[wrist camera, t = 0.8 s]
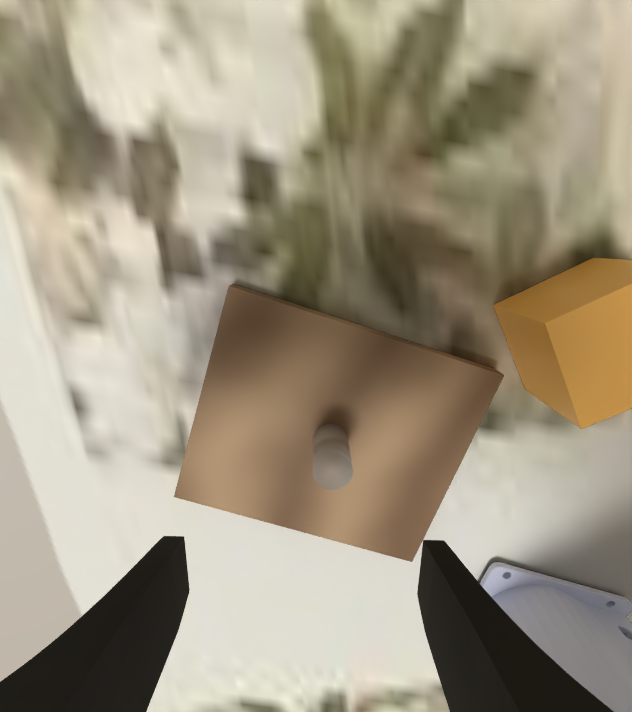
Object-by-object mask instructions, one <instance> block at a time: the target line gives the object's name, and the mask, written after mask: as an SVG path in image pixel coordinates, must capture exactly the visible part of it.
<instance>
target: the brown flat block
mask: <svg viewBox="0 0 632 712" xmlns="http://www.w3.org/2000/svg"><path fill="white" fill-rule="evenodd" d="M503 377H504V375H503V374H501V373H500V372H499V371H497V370H496V369H494V368H491V367H487V366H484V365H481V364H478V363H475V362H472V361H469V360H466V359H463V358H460V357H457V356H454V355H451V354H448V353H444V352H441V351H438V350H435V349H432V348H429V347H426V346H423V345H420V344H417V343H414V342H411V341H408V340H405V339H401V338H398V337H395V336H392V335H389V334H386V333H383V332H380V331H377V330H374V329H371V328H368V327H365V326H362V325H358V324H355V323H352V322H349V321H346V320H343V319H340V318H337V317H334V316H331V315H328V314H325V313H322V312H319V311H315V310H312V309H309V308H306V307H303V306H300V305H297V304H294V303H291V302H288V301H285V300H282V299H279V298H276V297H272V296H269V295H266V294H263V293H260V292H257V291H254V290H251V289H248V288H245V287H242V286H239V285H236V284H232V285H230V286H229V288H228V291H227V295H226V299H225V303H224V307H223V311H222V314H221V318H220V322H219V326H218V330H217V334H216V338H215V341H214V345H213V349H212V353H211V357H210V361H209V364H208V368H207V372H206V376H205V380H204V384H203V387H202V391H201V395H200V399H199V403H198V407H197V410H196V414H195V418H194V422H193V426H192V430H191V434H190V437H189V441H188V445H187V449H186V453H185V457H184V460H183V464H182V468H181V472H180V476H179V480H178V483H177V487H176V491H175V495H174V497H176V498H180V499H184V500H187V501H191V502H195V503H198V504H202V505H206V506H209V507H213V508H217V509H220V510H224V511H228V512H231V513H235V514H239V515H242V516H246V517H250V518H253V519H257V520H261V521H264V522H268V523H272V524H275V525H279V526H283V527H286V528H290V529H294V530H297V531H301V532H305V533H308V534H312V535H316V536H319V537H323V538H327V539H330V540H334V541H337V542H341V543H345V544H348V545H352V546H356V547H359V548H363V549H367V550H370V551H374V552H378V553H381V554H385V555H389V556H392V557H396V558H400V559H403V560H407V561H411V562H412V561H413V559H414V557H415V555H416V553H417V551H418V549H419V547H420V545H421V543H422V541H423V539H424V536H425V534H426V532H427V530H428V528H429V526H430V524H431V522H432V520H433V518H434V516H435V514H436V512H437V510H438V508H439V506H440V504H441V502H442V500H443V498H444V496H445V494H446V492H447V490H448V488H449V486H450V484H451V482H452V480H453V478H454V476H455V474H456V472H457V470H458V468H459V466H460V464H461V462H462V460H463V458H464V455H465V453H466V451H467V449H468V447H469V445H470V443H471V441H472V439H473V437H474V435H475V433H476V431H477V429H478V427H479V425H480V423H481V421H482V419H483V417H484V415H485V413H486V411H487V409H488V407H489V405H490V403H491V401H492V399H493V397H494V395H495V393H496V391H497V389H498V387H499V385H500V383H501V381H502V379H503Z"/></svg>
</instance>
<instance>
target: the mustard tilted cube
mask: <svg viewBox="0 0 632 712" xmlns="http://www.w3.org/2000/svg"><path fill="white" fill-rule="evenodd" d="M493 306H494V308H495V311H496V314H497V316H498V319H499V321H500V324H501V327H502V329H503V332H504V335H505V337H506V340H507V343H508V345H509V348H510V351H511V353H512V356H513V358H514V361H515V364H516V366H517V369H518V372H519V374H520V377H521V380H522V382H523V385H524V388H525V390H527V391H528V392H530V393H531V394H532V395H534V396H535V397H537V398H538V399H539V400H541V401H542V402H544V403H545V404H547V405H548V406H549V407H551V408H552V409H554V410H555V411H556V412H558V413H559V414H561V415H562V416H564V417H565V418H566V419H568V420H569V421H571V422H572V423H573V424H575V425H576V426H578V427H579V428H581V429H583V428H585V427H588V426H590V425H593V424H595V423H598V422H600V421H602V420H605V419H607V418H610V417H612V416H614V415H617V414H619V413H622V412H624V411H626V410H629V409H631V408H632V260H624V259H606V258H592V259H589V260H587V261H585V262H583V263H581V264H579V265H577V266H575V267H573V268H570V269H568V270H566V271H564V272H562V273H560V274H558V275H556V276H553V277H551V278H549V279H547V280H545V281H543V282H541V283H539V284H537V285H534V286H532V287H530V288H528V289H526V290H524V291H522V292H520V293H517V294H515V295H513V296H511V297H509V298H507V299H505V300H503V301H501V302H498V303H496V304H494V305H493Z"/></svg>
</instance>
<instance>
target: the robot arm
mask: <svg viewBox="0 0 632 712" xmlns="http://www.w3.org/2000/svg"><path fill="white" fill-rule="evenodd" d="M505 572H507V573H505ZM188 594H189V582H188V572H187V562H186V552H185V542H184V537H180V536H164V537H163V538H161V539H160V540H159V541H158V542H157V543H156V544H155V545H154V546H153V547H152V548H151V549H150V551H149V552H148V553H147V554H146V555H145V556H144V557H143V558H142V559H141V560H140V561H139V562H138V563H137V564H136V565H135V566H134V567H133V568H132V569H131V570H130V571H129V572H128V573H127V574H126V575H125V576H124V577H123V578H122V579H121V580H120V581H119V582H118V583H117V584H116V585H115V586H114V587H113V588H112V589H111V590H110V591H109V592H108V593H107V594H106V595H105V596H104V597H103V598H101V599H100V600H99V601H98V602H97V603H96V604H95V605H94V606H93V607H92V608H91V609H90V610H88V611H87V612H86V613H85V614H84V615H83V616H82V617H81V618H80V619H79V620H77V621H76V622H75V623H74V624H73V625H72V626H71V627H70V628H68V629H67V630H66V631H65V632H64V633H63V634H62V635H60V636H59V637H58V638H57V639H56V640H54V641H53V642H52V643H51V644H50V645H48V646H47V647H46V648H45V649H43V650H42V651H41V652H40V653H38V654H37V655H36V656H35V657H33V658H32V659H31V660H29V661H28V662H27V663H26V664H24V665H23V666H22V667H20V668H19V669H17V670H16V671H15V672H13V673H12V674H11V675H9V676H8V677H6V678H5V679H4V680H2V681H1V682H0V712H146V711H147V708H148V705H149V703H150V700H151V698H152V695H153V693H154V690H155V688H156V685H157V683H158V680H159V678H160V675H161V673H162V670H163V668H164V665H165V663H166V660H167V658H168V655H169V653H170V650H171V647H172V645H173V642H174V640H175V637H176V635H177V632H178V629H179V626H180V623H181V619H182V616H183V612H184V609H185V605H186V601H187V598H188ZM417 594H418V599H419V605H420V610H421V615H422V619H423V624H424V629H425V633H426V636H427V640H428V643H429V646H430V649H431V653H432V656H433V659H434V662H435V665H436V669H437V672H438V675H439V678H440V681H441V684H442V688H443V691H444V694H445V697H446V700H447V703H448V706H449V710H450V712H632V623H631V622H630V621H629V619H628V618H627V615H628V614H629V613H630V611H631V610H632V603H631V602H630V601H629V600H628V599H627V598H626V597H623V596H619V595H615V594H612V593H608V592H605V591H601V590H597V589H594V588H590V587H587V586H583V585H580V584H576V583H572V582H569V581H565V580H562V579H558V578H554V577H551V576H547V575H544V574H540V573H537V572H533V571H529V570H526V569H522V568H519V567H515V566H511V565H508V564H504V563H501V562H495V563H492V564H491V565H490V566H489V568H488V569H487V571H486V573H485V575H484V577H483V578H482V580H481V582H480V583H479V582H478V581H477V580H476V579H475V578H474V576H473V575H472V574H471V573H470V572H469V570H468V569H467V568H466V567H465V566H464V564H463V563H462V562H461V561H460V559H459V558H458V557H457V556H456V554H455V553H454V552H453V551H452V550H451V548H450V547H449V546H448V545H447V544H446V542H445V541H440V540H423V548H422V557H421V566H420V575H419V584H418V593H417Z"/></svg>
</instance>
